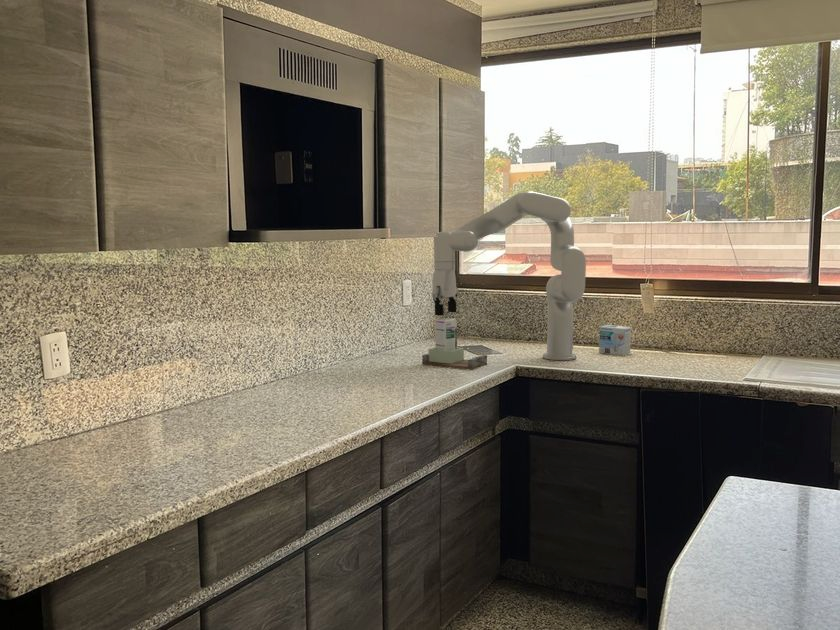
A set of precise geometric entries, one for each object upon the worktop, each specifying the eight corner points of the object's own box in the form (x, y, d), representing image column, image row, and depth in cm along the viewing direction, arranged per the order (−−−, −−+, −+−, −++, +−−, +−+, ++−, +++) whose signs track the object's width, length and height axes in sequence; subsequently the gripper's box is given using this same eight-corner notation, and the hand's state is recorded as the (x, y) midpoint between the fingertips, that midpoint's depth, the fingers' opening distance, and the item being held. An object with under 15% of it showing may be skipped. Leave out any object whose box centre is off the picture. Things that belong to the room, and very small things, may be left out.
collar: (441, 357, 285) (441, 345, 284) (463, 359, 280) (463, 347, 280) (428, 361, 277) (428, 349, 276) (451, 363, 272) (451, 351, 272)
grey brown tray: (438, 359, 287) (438, 350, 287) (486, 364, 277) (486, 355, 276) (422, 364, 277) (422, 355, 276) (471, 370, 267) (472, 360, 266)
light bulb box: (598, 353, 302) (599, 326, 301) (604, 351, 307) (605, 324, 306) (624, 356, 296) (625, 328, 295) (630, 353, 301) (631, 326, 300)
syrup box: (445, 360, 275) (445, 320, 273) (434, 357, 279) (434, 318, 277) (457, 358, 278) (457, 318, 277) (446, 356, 283) (446, 317, 281)
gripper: (447, 264, 284) (448, 310, 286) (423, 267, 269) (424, 316, 272) (465, 264, 280) (466, 311, 283) (442, 268, 266) (443, 317, 268)
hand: (445, 313), depth 277 cm, fingers open, 9 cm apart
